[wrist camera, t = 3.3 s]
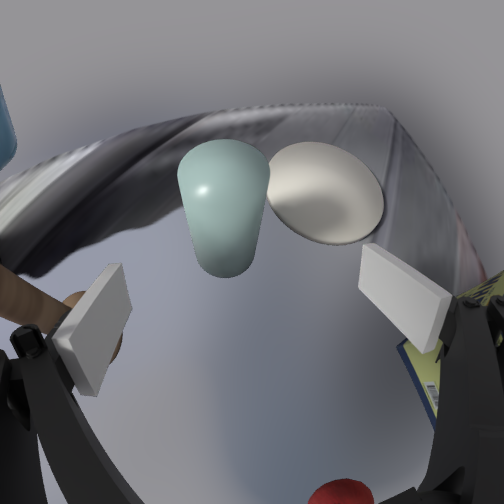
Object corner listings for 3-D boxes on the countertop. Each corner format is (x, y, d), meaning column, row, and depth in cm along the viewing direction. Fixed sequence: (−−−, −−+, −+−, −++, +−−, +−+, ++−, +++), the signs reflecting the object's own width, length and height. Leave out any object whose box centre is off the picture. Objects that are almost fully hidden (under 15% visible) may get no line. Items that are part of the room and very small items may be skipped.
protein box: (445, 299, 27) (538, 243, 13) (485, 392, 22) (575, 373, 8) (392, 345, 25) (509, 303, 11) (439, 447, 19) (542, 455, 5)
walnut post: (56, 365, 21) (-106, 312, 3) (62, 292, 24) (-68, 182, 6) (121, 376, 22) (-63, 344, 4) (125, 296, 25) (-6, 155, 7)
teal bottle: (194, 278, 26) (172, 208, 16) (197, 224, 29) (183, 140, 18) (256, 277, 27) (273, 208, 16) (253, 224, 29) (266, 140, 19)
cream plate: (269, 245, 29) (270, 239, 27) (260, 144, 35) (261, 138, 34) (392, 245, 30) (397, 241, 29) (362, 153, 36) (365, 148, 35)
